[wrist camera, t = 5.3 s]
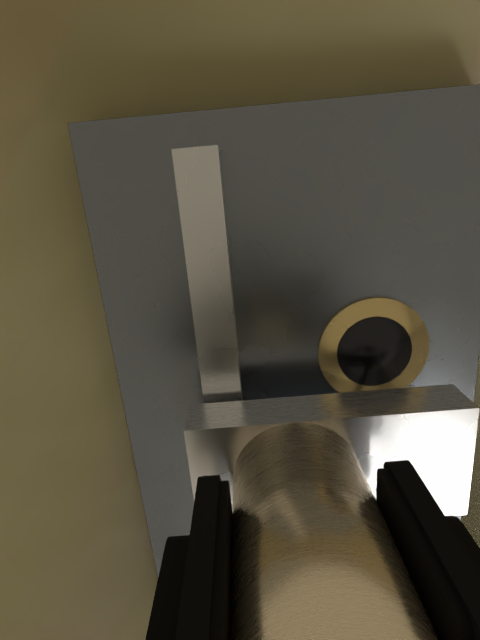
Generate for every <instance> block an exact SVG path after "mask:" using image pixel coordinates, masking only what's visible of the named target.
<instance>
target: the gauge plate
mask: <svg viewBox="0 0 480 640" xmlns="http://www.w3.org/2000/svg"><path fill="white" fill-rule="evenodd" d="M67 124H68V129H69V134H70V139H71V144H72V149H73V154H74V159H75V164H76V169H77V174H78V179H79V184H80V189H81V194H82V199H83V204H84V209H85V214H86V219H87V224H88V229H89V234H90V239H91V244H92V249H93V254H94V259H95V265H96V270H97V275H98V280H99V285H100V290H101V295H102V300H103V305H104V310H105V315H106V320H107V325H108V330H109V335H110V340H111V345H112V350H113V355H114V360H115V365H116V370H117V375H118V380H119V385H120V390H121V395H122V400H123V405H124V410H125V416H126V421H127V426H128V431H129V436H130V441H131V446H132V451H133V456H134V461H135V466H136V471H137V476H138V481H139V486H140V491H141V496H142V501H143V506H144V511H145V516H146V521H147V526H148V531H149V536H150V541H151V546H152V551H153V556H154V561H155V567H156V572H157V577H159V572H160V567H161V562H162V557H163V553H164V548H165V544H166V540H167V538H168V537H171V536H184V535H190V529H191V521H192V514H193V507H194V498H193V491H192V484H191V477H190V471H189V464H188V457H187V451H186V444H185V437H184V427H185V422H186V418H187V413H188V409H189V405H191V404H204V403H217V402H229V401H242V400H255V399H268V398H280V397H293V396H306V395H319V394H332V393H344V392H357V391H370V390H383V389H395V388H408V387H421V386H434V385H447V384H453V385H454V386H455V387H457V388H458V389H459V390H460V391H461V392H462V393H463V394H464V395H465V396H467V397H468V398H469V399H470V400H471V401H472V402H473V403H474V394H475V385H476V376H477V367H478V358H479V349H480V84H479V85H468V86H457V87H447V88H436V89H425V90H415V91H404V92H393V93H383V94H372V95H361V96H351V97H340V98H329V99H319V100H308V101H297V102H287V103H276V104H265V105H255V106H244V107H233V108H223V109H212V110H201V111H191V112H180V113H169V114H159V115H148V116H138V117H127V118H116V119H106V120H95V121H84V122H74V123H67ZM456 517H457V518H459V520H460V521H461V515H459V516H456Z"/></svg>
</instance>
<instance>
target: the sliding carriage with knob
mask: <svg viewBox="0 0 480 640" xmlns="http://www.w3.org/2000/svg"><path fill="white" fill-rule="evenodd" d="M478 417H479V407H478V406H477V405H475V404H474V403H473V402H472V401H471V400H470V399H469V398H468V397H467V396H465V395H464V394H463V393H462V392H461V391H460V390H459V389H458V388H457V387H455V386H454V385H453V384H447V385H434V386H421V387H408V388H395V389H383V390H370V391H357V392H344V393H332V394H319V395H306V396H293V397H280V398H268V399H255V400H242V401H229V402H217V403H204V404H191V405H189V409H188V413H187V418H186V422H185V427H184V437H185V444H186V451H187V457H188V464H189V471H190V477H191V484H192V491H193V498H194V500H195V493H196V486H197V479H198V477H199V476H211V475H220V477H221V481H226V480H228V481H229V487H230V495H231V504H232V512H233V528H232V592H231V640H439V639H438V637H437V635H436V633H435V630H434V628H433V626H432V624H431V622H430V619H429V617H428V615H427V613H426V610H425V608H424V606H423V604H422V601H421V599H420V597H419V595H418V592H417V590H416V588H415V586H414V584H413V581H412V579H411V577H410V575H409V572H408V570H407V568H406V566H405V563H404V561H403V559H402V557H401V555H400V552H399V550H398V548H397V546H396V543H395V541H394V539H393V537H392V534H391V532H390V530H389V528H388V526H387V523H386V521H385V519H384V517H383V514H382V512H381V510H380V508H379V505H378V503H377V501H376V486H377V470H378V469H380V468H383V467H384V463H385V462H390V461H403V460H408V461H410V462H411V464H412V465H413V467H414V468H415V470H416V471H417V473H418V475H419V476H420V478H421V479H422V481H423V482H424V484H425V486H426V487H427V489H428V490H429V492H430V493H431V495H432V497H433V498H434V500H435V501H436V503H437V504H438V506H439V508H440V509H441V511H442V512H443V514H444V515H445V516H453V515H454V516H459V515H467V513H468V504H469V495H470V487H471V478H472V469H473V460H474V452H475V443H476V434H477V426H478Z"/></svg>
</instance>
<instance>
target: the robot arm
mask: <svg viewBox="0 0 480 640" xmlns="http://www.w3.org/2000/svg"><path fill="white" fill-rule="evenodd" d="M376 501H377V503H378V505H379V508H380V510H381V512H382V514H383V517H384V519H385V521H386V523H387V526H388V528H389V530H390V532H391V534H392V537H393V539H394V541H395V543H396V546H397V548H398V550H399V552H400V555H401V557H402V559H403V561H404V563H405V566H406V568H407V570H408V572H409V575H410V577H411V579H412V581H413V584H414V586H415V588H416V590H417V592H418V595H419V597H420V599H421V601H422V604H423V606H424V608H425V610H426V613H427V615H428V617H429V619H430V622H431V624H432V626H433V628H434V630H435V633H436V635H437V637H438V639H439V640H480V548H479V547H478V545H477V544H476V542H475V541H474V539H473V538H472V536H471V535H470V533H469V532H468V530H467V529H466V528H465V526H464V525H463V523H462V522H461V521H460V520H459V518H457V517H456V516H454V515H453V516H445V515H444V514H443V512H442V511H441V509H440V508H439V506H438V504H437V503H436V501H435V500H434V498H433V497H432V495H431V493H430V492H429V490H428V489H427V487H426V486H425V484H424V482H423V481H422V479H421V478H420V476H419V475H418V473H417V471H416V470H415V468H414V467H413V465H412V464H411V462H410V461H408V460H403V461H390V462H385V463H384V467H383V468H380V469H378V470H377V486H376ZM232 528H233V512H232V504H231V495H230V487H229V481H228V480H226V481H221V477H220V475H211V476H199V477H198V479H197V486H196V493H195V500H194V507H193V514H192V521H191V529H190V535H184V536H171V537H168V538H167V540H166V544H165V548H164V553H163V557H162V562H161V567H160V572H159V577H158V582H157V587H156V592H155V596H154V601H153V606H152V611H151V616H150V621H149V626H148V631H147V635H146V640H231V592H232Z"/></svg>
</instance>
